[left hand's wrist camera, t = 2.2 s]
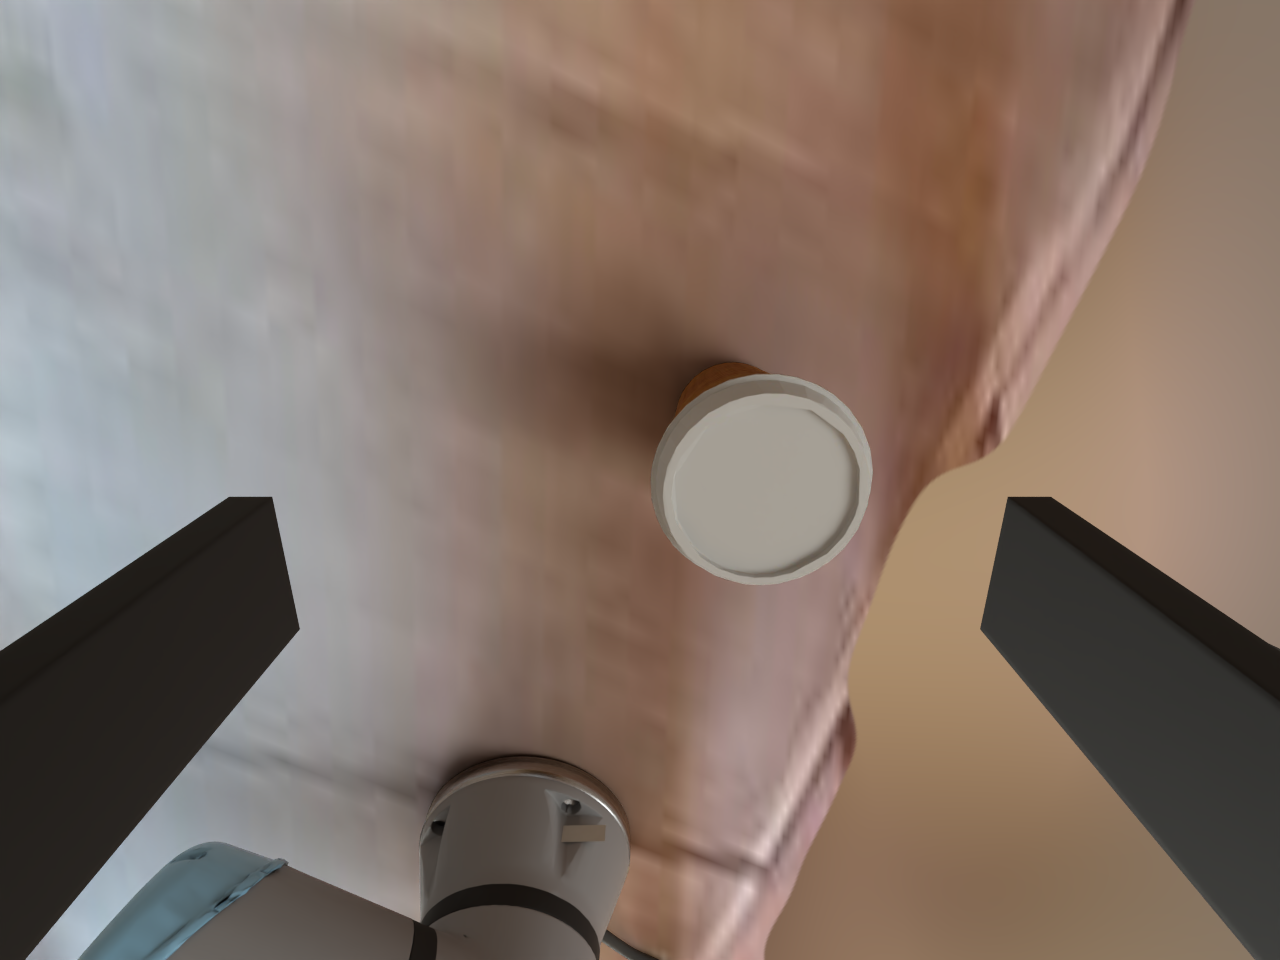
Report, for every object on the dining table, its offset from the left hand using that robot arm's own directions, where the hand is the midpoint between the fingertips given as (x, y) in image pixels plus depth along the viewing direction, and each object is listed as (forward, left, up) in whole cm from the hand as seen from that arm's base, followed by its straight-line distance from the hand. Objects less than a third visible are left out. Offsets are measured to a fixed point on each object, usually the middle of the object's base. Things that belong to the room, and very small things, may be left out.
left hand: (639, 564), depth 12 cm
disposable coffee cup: (-6, -4, -27) cm, 28 cm away
